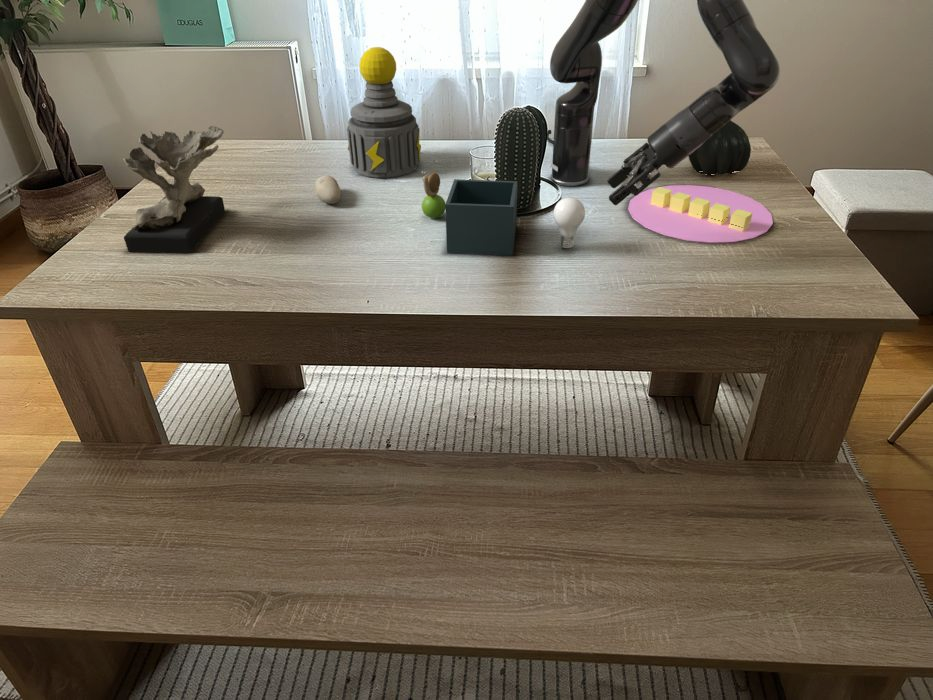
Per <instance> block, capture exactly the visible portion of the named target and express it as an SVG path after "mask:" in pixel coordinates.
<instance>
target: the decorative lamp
mask: <svg viewBox="0 0 933 700" xmlns="http://www.w3.org/2000/svg"><path fill="white" fill-rule="evenodd" d="M358 66H359V72H360V75H361V77H362V79H363V80H364V81H365V82H366V83H365V88H366V89H365V90H364V96H365V97H364V98H363V101H361V102H358V103H357V104H355V105H354V106H352V107H351V109H350V116H351V117H350V118H349V119H348V123H347V124H348V125H347V127H346V133H347V143H348V145H347V150H348V151H349V161H350V165H352V168H353V171H354V172H356V173H357V174H359V175H360V176H364V177H367V178H373V179H390V178H398V177H403V176H406V175H408V174H410V173H412V172H414V171H415V170H416V169H417V168H418V167H419V163H420V162H421V150H422V145H421V143H420V129H421V128H420V127H419V124H418V123H417V117H415V115H413V107H412V106H411V105H410V104H409V103H407V102H405V101H402V100H400V99H398V97H397V96H396V94H397V92H396V89H395V88H394V83H393V80H394V78H395V76H396V73H397V62H396V59H395V57H394V55H393V54H392V53H391V51H389V50H388V49H386V48H384V47H381V46H374V47H370V48H368V49H367V50H366V51H364V53H363V54H362V55H361V57H360V60H359V65H358Z"/></svg>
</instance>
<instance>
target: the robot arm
mask: <svg viewBox="0 0 933 700" xmlns="http://www.w3.org/2000/svg"><path fill="white" fill-rule="evenodd" d="M695 1H696V7H697V11H698V12H697V13H698V15H699V17H700V20H701V21H702V23H703V24H704V27H705V28H706V30H707V32H708V34H709V36H710V37H711V39H712V40H713V42H714V44H715V45H716V47H717V48H718V50H719V51H720V52H721V53H722V55H723V58H724V60H725V62H726V63H727V66H728V68H729V70H730V73H729V74H728V75H727V76H726V77H724V78H723V79H722V80H721V81H720V82H719V83H717V84H715V85H714V86H711V87H710V88H708V89H707V90H705V91H704V92H702V93H701V94H700V95H699V96H697V98H695V99H694V100H693V101H692V102H691V103H690V104H688V105H687V106H686V107H684V108H683V109H681V110H679V111H678V112H676V113H675V114H674V115H673V116H671V118H669V119H668V120H667V121H666V122H665V123H663V124H662V125H661V126H659V127H658V129H656V130H655V131H654V132H653V133H651V134H650V135H649V136H648V137H647V142H644V144H642V145H641V146H640V147H639V148H637V149H636V150H635V151H634V152H633V153H631V154H630V155H629V156H628V157H626V158H625V159H624V161H623V164H622V165H621V168H619V170H617V171H616V172H615V173H614V174H613V175H611V176H610V177H608V179H607V184H608V185H609V186H610V188H612V189H616V188H617V187H618V188H617V189H616V190H615V191H613V192H611V194H610V195H608V200H609V201H610V202H611V204H612V205H614V206H618V205H619V204H620V203H621V202H623V201H624V200H625V199H626V198H628V197H629V196H631V195H633V196H634V197H635V196H637V195H638V194H639V193H641V192H644V191H645V190H646V188H648V187H650V185H651V184H653V183H654V182H655V181H656V180H658V179H659V178H660V177H661V175H662V174H661V173H660V171H659V169H660V168H661V167H662V166H665V167H666V168H667V169H673V168H675V167H677V166H678V165H679V164H680V163H682V161H684V160H685V159H686V158H688V157H689V155H690V154H691V153H692V152H694V151H695V150H696V149H698V148H699V147H700V146H701V145H702V144H703V143H704V142H705V141H706V140H707V139H708V138H709V137H711V135H713V134H714V133H716V132H717V131H718V130H719V129H721V128H722V127H723V126H724V125H726V124H727V123H728V122H729V121H730V120H731V121H732V119H734V117H736V115H738V114H739V113H740V112H742V111H744V110H745V109H746V108H748V107H749V106H750V105H753V104H754V103H755V102H757V101H758V100H759V99H761V98H762V97H763V96H764V95H765V94H767V93H768V92H769V91H771V90H772V89H773V88H774V87H775V86H776V84H777V83H778V80H779V78H780V74H781V67H780V63H779V60H778V58H777V57H776V55H775V53H774V51H773V49H771V47H770V46H769V44H768V42H767V41H766V40H765V38H764V36H763V35H762V33H761V31H760V30H759V29H758V27H757V24H756V21H755V20H754V17H753V15H752V13H751V11H750V10H749V8H748V6H747V4H746V2H745V1H744V0H695ZM638 2H639V0H585V1H584V2H583V5H582V6H581V8H580V10H578V13H577V14H576V16H575V18H574V19H573V20H572V22H571V23H570V25H569V26H568V28H567V29H566V31H565V32H564V33H563V34H562V36H561V37H560V38H559V40H558V41H557V42H556V44H555V46H554V47H553V50H552V51H551V55H550V60H549V72H550V74H551V76H552V78H553V79H554V81H556V82H557V83H560V84H575V85H574V86H573V87H572V88H571V89H569V90H568V91H567V92H565V93H563V94H562V95H559V97H557V99H556V101H555V109H554V110H555V111H554V125H553V126H554V129H553V139H551V138H550V135H551V134H552V130H551V129H548V130H547V131H546V133H547V140H546V141H547V142H548V143H550V144H552V145H553V147H552V162H550V168H551V173H550V181H551V182H552V183H554V184H555V185H559V186H563V187H579V186H583V185H586V184H588V182H589V173H590V172H589V171H590V162H591V150H592V149H591V148H592V137H593V127H594V116H595V106H596V104H597V101H598V94H599V88H600V80H601V74H602V66H603V52H602V47H601V43H599V42H600V41H602V40H603V39H605V38H607V37H608V36H609V35H611V34H612V33H614V32H615V31H617V30H618V29H619V28H620V27H621V26H622V25H623V24H624V23H625V22H626V20H627V19H628V18H629V16H630V14H631V13H632V11H634V9H635V7H636V5H637V4H638ZM623 182H624V183H623ZM621 184H622V185H621ZM620 185H621V186H620Z"/></svg>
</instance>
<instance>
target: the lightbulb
mask: <svg viewBox="0 0 933 700" xmlns="http://www.w3.org/2000/svg"><path fill="white" fill-rule="evenodd" d="M552 213H553V219H554V221H555V223H556V224H557V226H558V228H559V233H560V247H561V248H562V249H565V250H568V249H572V248H573V247H574V241H575V235H576V233H577V230H578V228H579V227H580V226H581V224H582V223H583V221H584V219H585V216H586V209H585V206H584V204H583V203H582V201H581V200H579V199H577V198H576V197H573V196H572V197H571V196H567V197H564V198H562V199H560V200H558V201H557V203H556V204H555V206H554V208H553V212H552Z"/></svg>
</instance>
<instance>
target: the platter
mask: <svg viewBox="0 0 933 700" xmlns="http://www.w3.org/2000/svg"><path fill="white" fill-rule="evenodd" d="M627 211H628V212H629V214H630V216H631V218H632V219H633V220H634V221H636V222H637V223H638V224H640V225H641V226H642V227H644V228H645V229H648V230H650V231H653V232H654V233H657V234H659V235H662V236H665V237H669V238H674V239H678V240H682V241H688V242H696V243H697V242H698V243H706V244H722V243H723V244H726V243H738V242H743V241H747V240H753V239H755V238H757V237H760V236H761V235H764V234H765V233H767V232H768V231H769V230H770V228H771V227H772V226H773V224H774V220H773V214H772V212H770V210H768V208H766V206H765V205H764V204H762V203H760V202H758V201H756V200H755V199H753V198H751V197H750V196H747V195H745V194H741V193H738V192H735V191H732V190H728V189H723V188H717V187H713V186H705V185H695V184H677V185H675V184H673V185H665V186H659V187H652V188H649V189H647V190H643V191H642V192H640V193H639V194H638V195H637V196H635V195H634V196H633V197H632V198H631V199H629V204H628V208H627ZM707 211H708V212H707ZM706 212H707V213H706ZM697 214H698V215H697ZM703 214H704V215H703ZM701 215H702V216H701ZM708 217H709V218H708ZM726 217H728V218H726ZM711 218H713V219H711ZM725 218H726V219H725ZM714 219H716V220H714ZM724 219H725V220H724ZM718 220H720V221H718ZM722 220H723V221H722ZM721 221H722V222H721ZM729 223H730V224H729ZM749 223H750V224H749ZM731 224H734V225H731ZM747 224H749V225H747ZM735 225H737V226H735ZM746 225H747V226H746ZM738 226H740V227H738ZM745 226H746V227H745ZM741 227H744V228H741Z"/></svg>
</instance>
